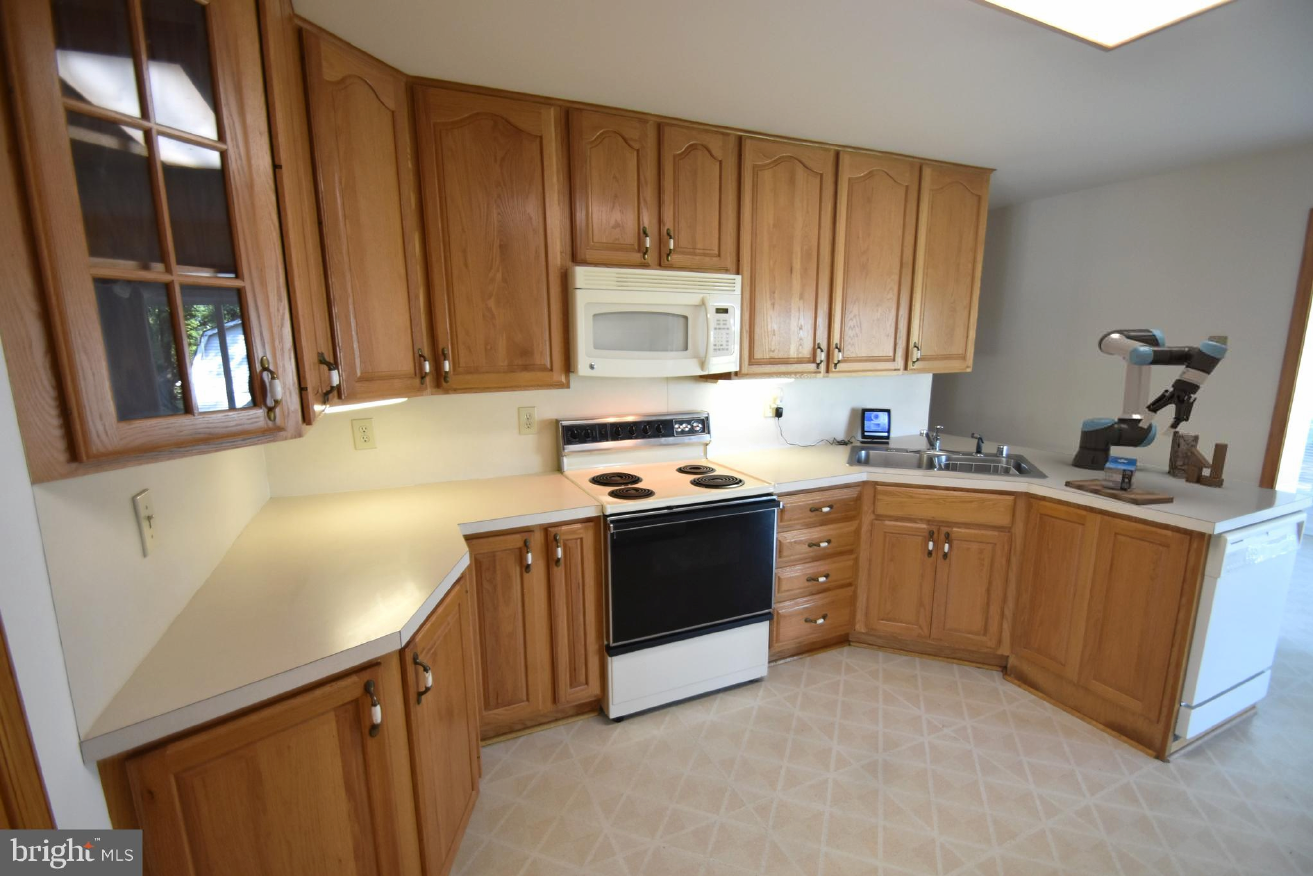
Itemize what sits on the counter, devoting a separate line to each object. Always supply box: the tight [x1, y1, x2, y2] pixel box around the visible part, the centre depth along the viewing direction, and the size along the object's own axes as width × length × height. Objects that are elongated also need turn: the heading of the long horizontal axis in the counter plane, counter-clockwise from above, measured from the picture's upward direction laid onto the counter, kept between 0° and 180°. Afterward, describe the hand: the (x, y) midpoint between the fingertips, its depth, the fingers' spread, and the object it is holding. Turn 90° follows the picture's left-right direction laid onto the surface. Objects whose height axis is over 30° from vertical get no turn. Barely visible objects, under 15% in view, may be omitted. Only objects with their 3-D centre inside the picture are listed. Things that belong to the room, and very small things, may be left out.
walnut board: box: [1064, 478, 1175, 506], centre depth 206 cm, size 28×16×2 cm, turn 12°
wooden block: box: [1185, 442, 1229, 488], centre depth 219 cm, size 4×11×18 cm, turn 16°
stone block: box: [1167, 429, 1200, 480], centre depth 234 cm, size 13×7×20 cm, turn 153°
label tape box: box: [1101, 455, 1138, 491], centre depth 205 cm, size 9×4×12 cm, turn 36°
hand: (1153, 431), depth 209 cm, fingers open, 13 cm apart
